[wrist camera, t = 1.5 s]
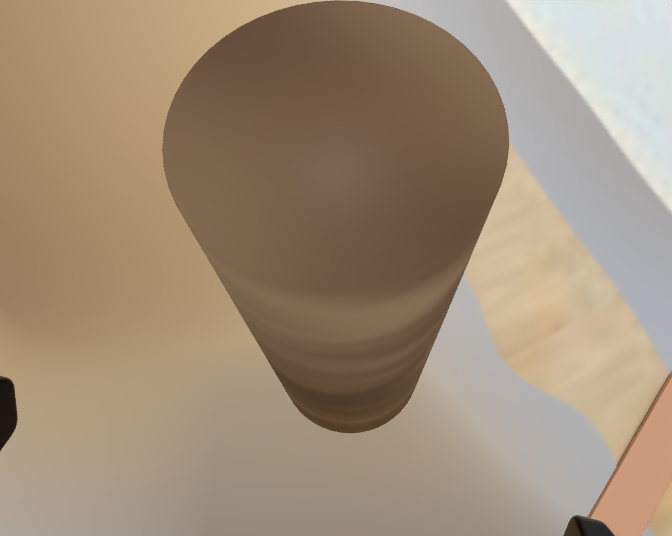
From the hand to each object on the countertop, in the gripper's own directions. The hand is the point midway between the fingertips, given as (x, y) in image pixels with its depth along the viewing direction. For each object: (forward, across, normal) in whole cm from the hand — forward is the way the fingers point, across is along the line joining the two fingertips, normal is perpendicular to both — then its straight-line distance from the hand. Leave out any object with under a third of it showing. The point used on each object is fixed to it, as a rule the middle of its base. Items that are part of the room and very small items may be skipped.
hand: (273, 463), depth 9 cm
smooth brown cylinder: (+11, 0, +5) cm, 12 cm away
